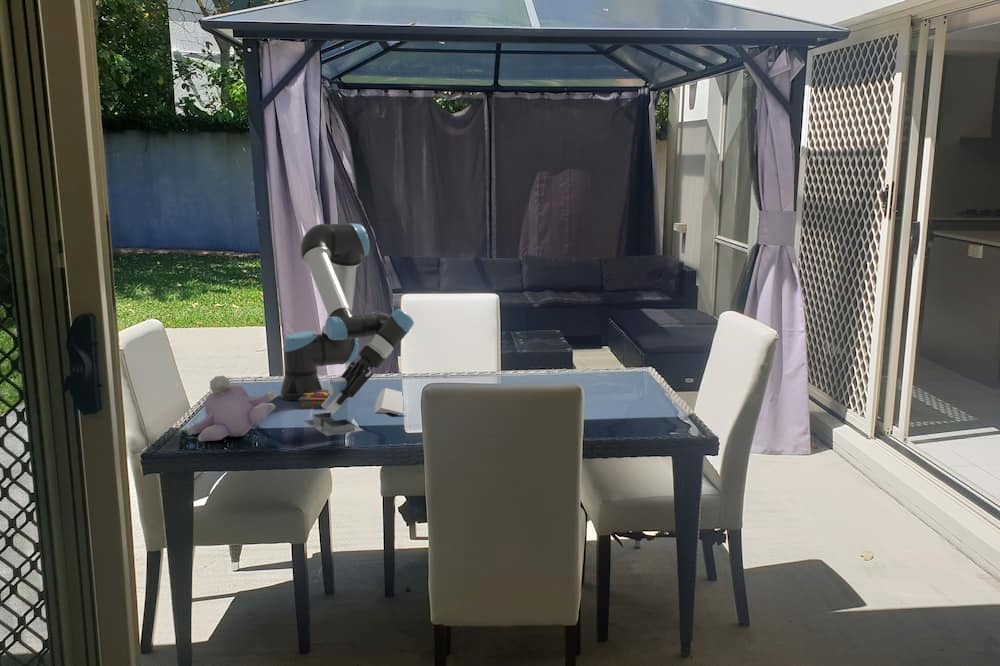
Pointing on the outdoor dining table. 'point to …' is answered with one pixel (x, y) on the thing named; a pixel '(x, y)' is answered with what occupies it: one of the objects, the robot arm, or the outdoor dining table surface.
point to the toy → (230, 411)
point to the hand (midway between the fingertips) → (327, 409)
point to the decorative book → (313, 398)
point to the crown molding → (389, 402)
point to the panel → (332, 424)
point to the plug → (334, 390)
